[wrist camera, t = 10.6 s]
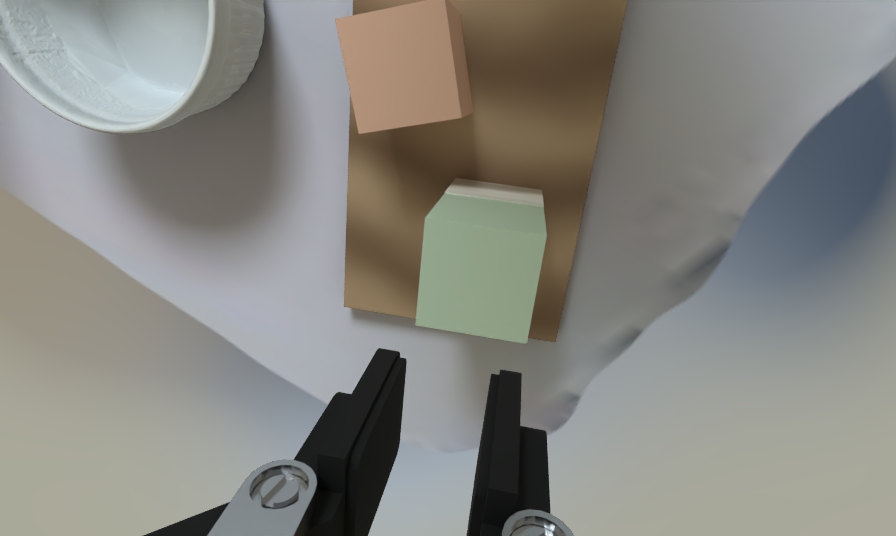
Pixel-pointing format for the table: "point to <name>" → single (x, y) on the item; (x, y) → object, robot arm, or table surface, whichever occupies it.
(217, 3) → the ramekin
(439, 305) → the green block
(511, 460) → the robot arm
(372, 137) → the build board
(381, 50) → the terracotta block
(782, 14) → the table surface
